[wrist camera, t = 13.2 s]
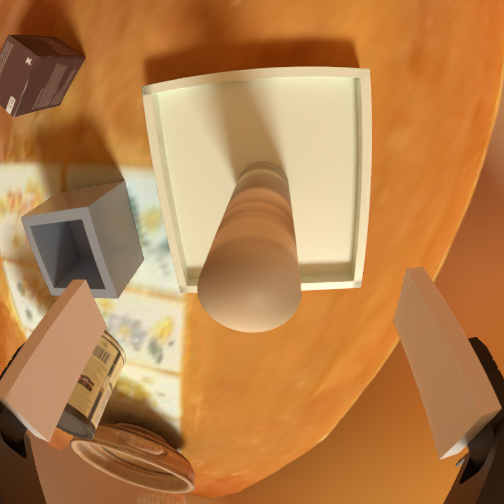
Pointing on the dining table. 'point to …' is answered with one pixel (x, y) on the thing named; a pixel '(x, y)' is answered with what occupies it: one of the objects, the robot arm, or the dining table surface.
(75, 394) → the coffee can
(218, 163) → the tray
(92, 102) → the dining table surface
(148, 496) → the vase
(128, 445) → the ceramic bowl
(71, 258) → the grey square bin
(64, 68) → the box
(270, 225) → the dowel
